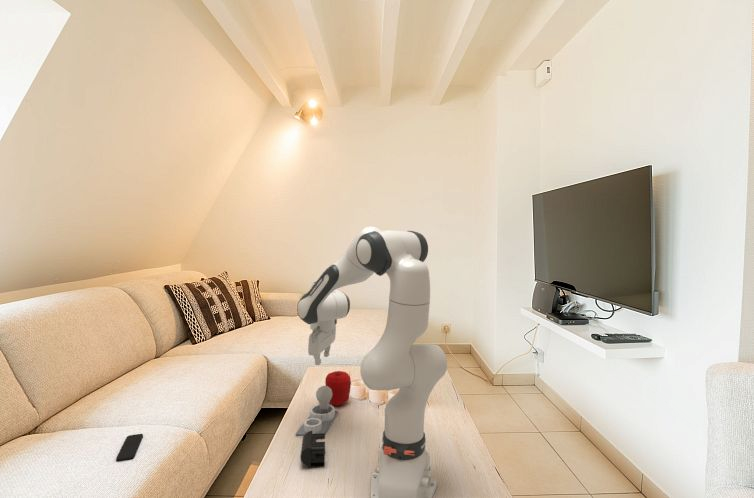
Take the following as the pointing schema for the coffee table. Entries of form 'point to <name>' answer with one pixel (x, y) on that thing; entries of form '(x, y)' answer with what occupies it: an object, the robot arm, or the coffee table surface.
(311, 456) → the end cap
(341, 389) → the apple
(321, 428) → the socket board
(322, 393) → the lightbulb
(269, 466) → the coffee table surface
